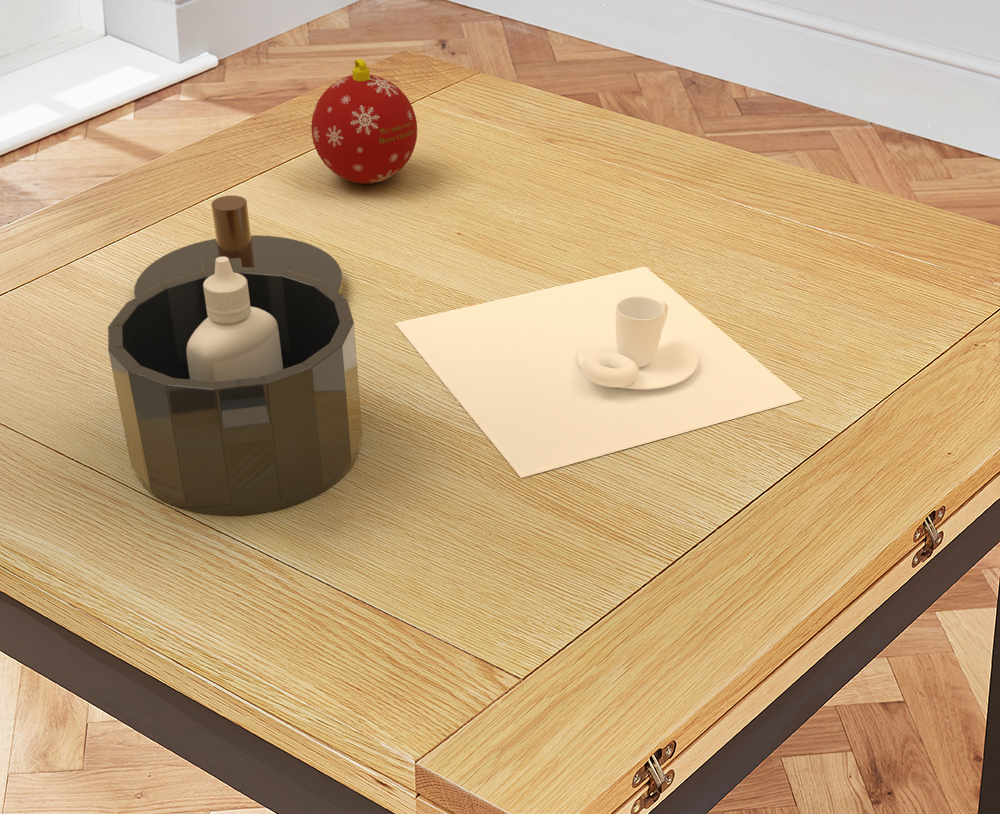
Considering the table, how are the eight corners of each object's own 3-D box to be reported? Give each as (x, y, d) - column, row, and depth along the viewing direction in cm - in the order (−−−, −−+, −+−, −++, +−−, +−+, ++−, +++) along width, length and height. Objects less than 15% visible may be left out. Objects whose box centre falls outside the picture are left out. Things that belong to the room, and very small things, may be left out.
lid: (138, 360, 89) (120, 262, 85) (134, 260, 101) (118, 169, 96) (357, 334, 92) (350, 238, 88) (329, 240, 103) (322, 151, 99)
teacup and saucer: (602, 409, 85) (605, 353, 82) (545, 350, 90) (546, 296, 88) (721, 378, 88) (727, 323, 85) (658, 322, 93) (662, 269, 91)
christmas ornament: (340, 209, 108) (331, 86, 102) (300, 170, 114) (288, 52, 108) (436, 187, 111) (433, 67, 105) (392, 151, 117) (386, 35, 111)
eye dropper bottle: (301, 448, 80) (282, 267, 73) (208, 469, 79) (179, 286, 72) (282, 411, 84) (262, 234, 76) (192, 430, 82) (162, 251, 75)
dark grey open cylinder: (135, 561, 73) (108, 431, 68) (130, 378, 88) (107, 260, 83) (384, 525, 75) (376, 397, 70) (338, 354, 90) (329, 237, 85)
